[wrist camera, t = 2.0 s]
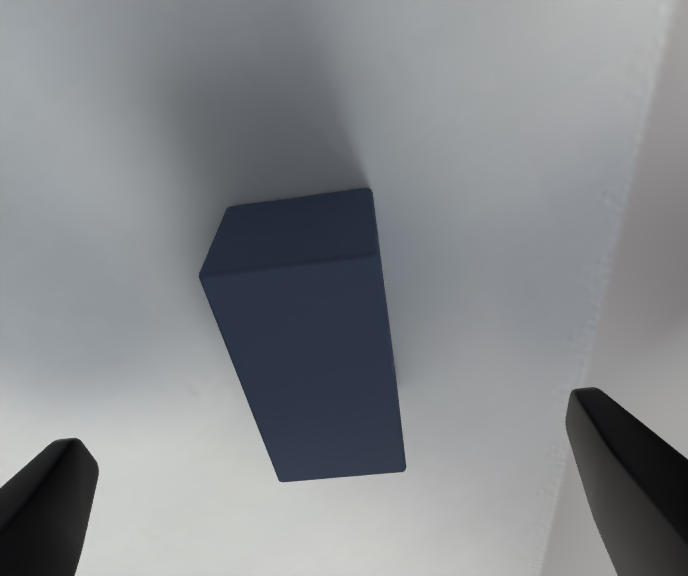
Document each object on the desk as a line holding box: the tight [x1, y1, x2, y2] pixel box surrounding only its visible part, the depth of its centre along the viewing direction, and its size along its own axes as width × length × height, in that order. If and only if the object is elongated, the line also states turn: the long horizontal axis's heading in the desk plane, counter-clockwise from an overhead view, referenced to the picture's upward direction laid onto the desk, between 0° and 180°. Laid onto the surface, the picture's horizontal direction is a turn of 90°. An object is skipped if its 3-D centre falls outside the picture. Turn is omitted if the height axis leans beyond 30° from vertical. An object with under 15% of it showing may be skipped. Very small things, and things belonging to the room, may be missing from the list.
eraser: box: [199, 188, 406, 482], centre depth 11 cm, size 6×3×2 cm, turn 9°
